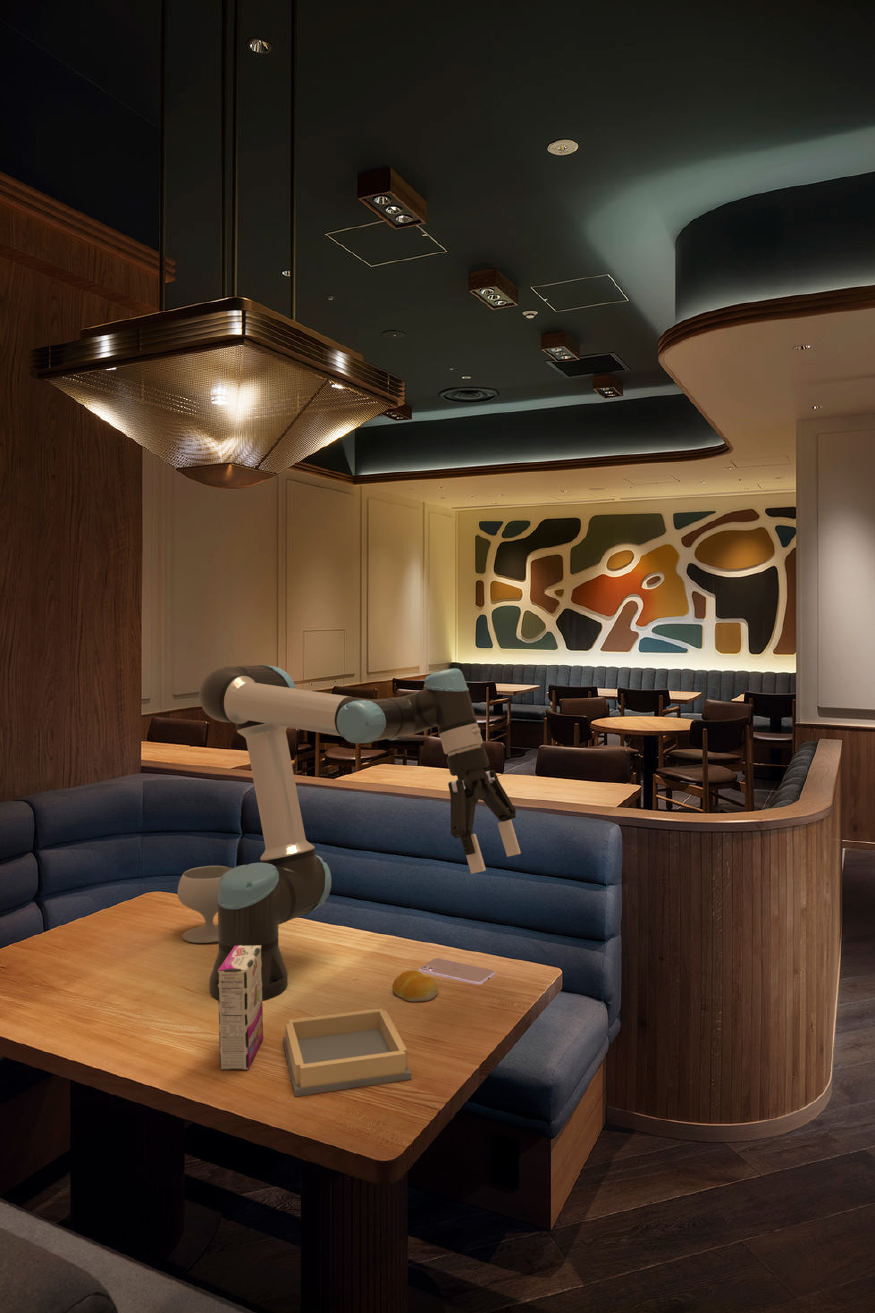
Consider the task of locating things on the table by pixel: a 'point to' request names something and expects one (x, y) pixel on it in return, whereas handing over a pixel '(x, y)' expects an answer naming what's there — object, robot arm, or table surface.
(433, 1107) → the table surface
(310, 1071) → the shallow square tray
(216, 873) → the chalice
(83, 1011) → the table surface
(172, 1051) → the table surface
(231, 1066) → the candy bar box
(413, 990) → the bread roll
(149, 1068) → the table surface
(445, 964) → the mobile phone
